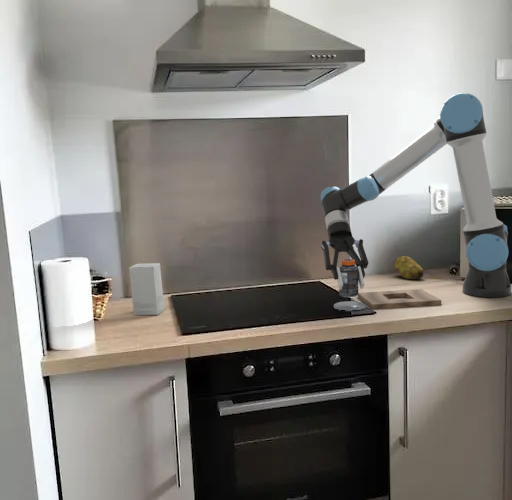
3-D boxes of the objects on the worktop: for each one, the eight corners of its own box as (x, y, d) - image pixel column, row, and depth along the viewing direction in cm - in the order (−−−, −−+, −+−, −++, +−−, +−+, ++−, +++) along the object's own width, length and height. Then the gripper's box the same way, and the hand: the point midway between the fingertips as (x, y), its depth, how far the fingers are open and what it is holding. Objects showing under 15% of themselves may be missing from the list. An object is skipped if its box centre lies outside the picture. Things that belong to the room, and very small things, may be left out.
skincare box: (164, 310, 181) (161, 262, 179) (157, 316, 175) (153, 266, 172) (140, 310, 183) (137, 262, 181) (131, 315, 176) (128, 266, 174)
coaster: (360, 302, 182) (360, 300, 182) (370, 310, 172) (370, 308, 172) (330, 304, 181) (330, 302, 181) (338, 312, 171) (338, 310, 171)
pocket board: (421, 293, 191) (421, 289, 191) (441, 304, 176) (441, 300, 175) (357, 297, 189) (357, 292, 189) (372, 309, 173) (372, 304, 173)
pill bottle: (357, 293, 179) (357, 257, 177) (359, 297, 173) (359, 261, 172) (338, 293, 180) (338, 258, 178) (339, 297, 174) (339, 261, 172)
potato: (405, 281, 210) (405, 260, 209) (391, 275, 223) (391, 255, 222) (425, 280, 212) (426, 259, 210) (410, 273, 224) (410, 254, 223)
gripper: (364, 233, 190) (379, 291, 176) (308, 235, 188) (319, 294, 174) (368, 219, 184) (384, 278, 170) (311, 221, 182) (323, 281, 168)
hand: (351, 286), depth 172 cm, fingers closed on pill bottle, 6 cm apart
